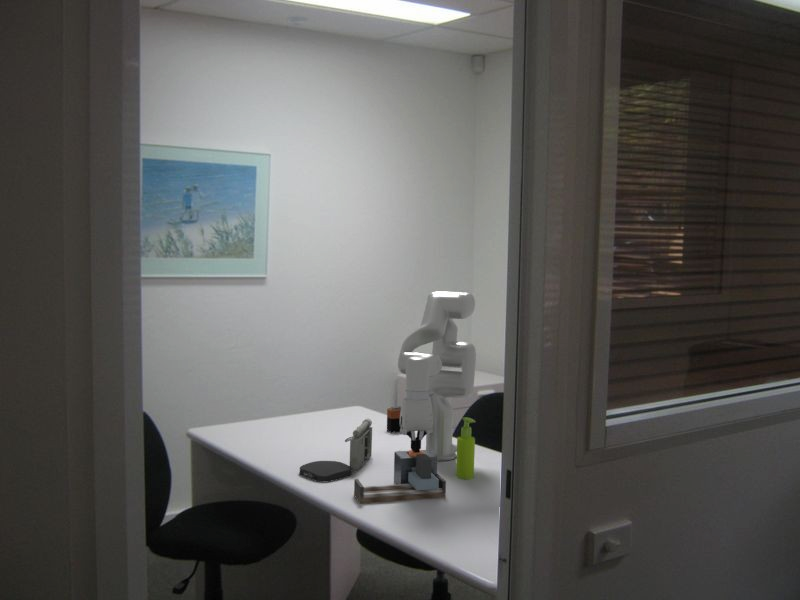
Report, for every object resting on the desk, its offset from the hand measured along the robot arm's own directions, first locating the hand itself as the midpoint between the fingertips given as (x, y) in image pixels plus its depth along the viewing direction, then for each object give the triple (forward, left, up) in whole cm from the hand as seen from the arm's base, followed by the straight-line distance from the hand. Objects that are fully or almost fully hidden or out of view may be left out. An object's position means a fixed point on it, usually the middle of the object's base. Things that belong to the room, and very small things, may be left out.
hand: (415, 451), depth 259 cm
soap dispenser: (-19, -4, -11) cm, 22 cm away
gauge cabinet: (0, 0, -11) cm, 11 cm away
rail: (+8, +10, -11) cm, 17 cm away
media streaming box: (+26, -17, -12) cm, 33 cm away
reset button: (0, 0, -4) cm, 4 cm away
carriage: (0, +10, -8) cm, 13 cm away
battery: (-13, -68, -11) cm, 70 cm away
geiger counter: (+11, -29, -11) cm, 33 cm away
